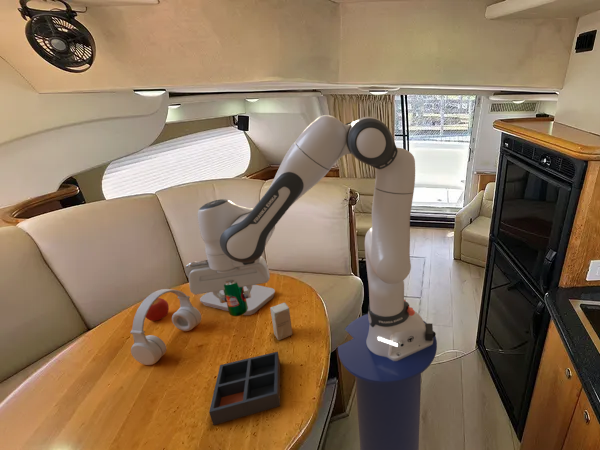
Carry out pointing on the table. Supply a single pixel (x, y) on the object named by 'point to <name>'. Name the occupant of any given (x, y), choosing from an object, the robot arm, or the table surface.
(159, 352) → the headphones
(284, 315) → the box
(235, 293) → the soda can
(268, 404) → the grid
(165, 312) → the apple
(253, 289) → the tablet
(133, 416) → the table surface
